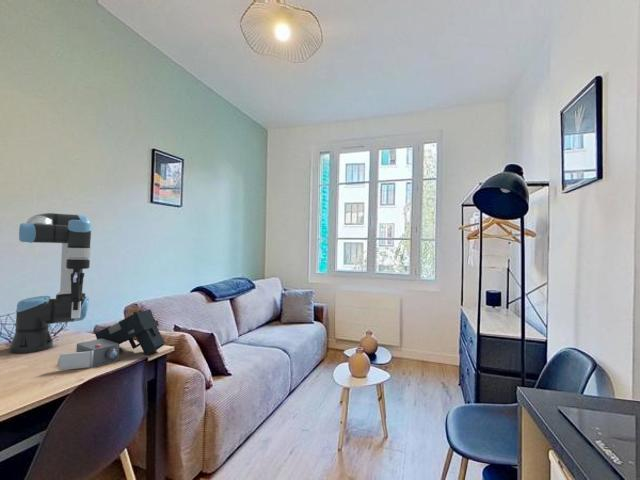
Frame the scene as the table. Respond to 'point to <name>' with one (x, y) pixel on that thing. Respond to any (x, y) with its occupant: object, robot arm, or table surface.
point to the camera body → (100, 351)
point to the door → (75, 360)
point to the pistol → (135, 332)
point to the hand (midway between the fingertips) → (75, 317)
